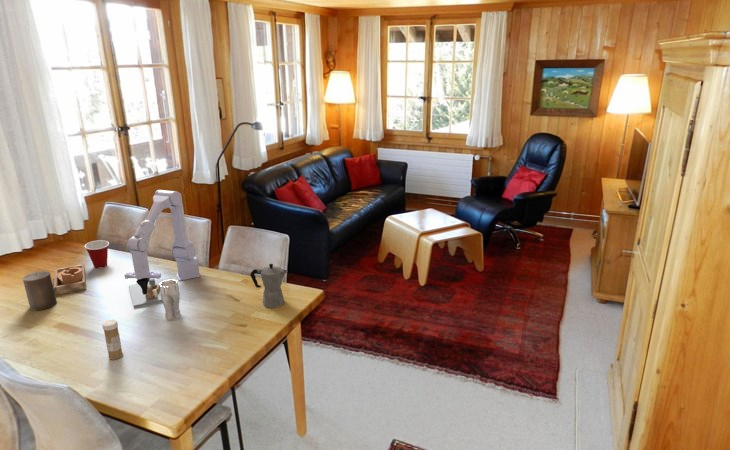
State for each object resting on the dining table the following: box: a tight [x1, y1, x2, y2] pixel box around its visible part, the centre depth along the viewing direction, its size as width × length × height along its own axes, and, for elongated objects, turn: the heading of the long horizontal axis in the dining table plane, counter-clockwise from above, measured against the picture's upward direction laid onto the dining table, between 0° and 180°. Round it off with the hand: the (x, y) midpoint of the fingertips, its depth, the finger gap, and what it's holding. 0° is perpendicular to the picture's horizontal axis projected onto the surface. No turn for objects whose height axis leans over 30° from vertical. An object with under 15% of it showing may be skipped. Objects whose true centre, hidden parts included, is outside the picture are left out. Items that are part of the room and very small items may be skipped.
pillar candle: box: [22, 270, 58, 311], centre depth 203 cm, size 10×10×15 cm
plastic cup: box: [84, 239, 110, 269], centre depth 242 cm, size 11×11×12 cm
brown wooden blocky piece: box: [145, 284, 160, 299], centre depth 212 cm, size 11×5×4 cm, turn 13°
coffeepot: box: [249, 263, 288, 309], centre depth 204 cm, size 15×9×18 cm, turn 92°
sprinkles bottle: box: [101, 319, 124, 361], centre depth 167 cm, size 5×5×14 cm
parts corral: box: [53, 264, 87, 296], centre depth 226 cm, size 12×23×4 cm, turn 29°
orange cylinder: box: [57, 267, 83, 286], centre depth 225 cm, size 18×8×7 cm, turn 46°
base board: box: [128, 276, 173, 309], centre depth 215 cm, size 18×22×6 cm
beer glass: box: [160, 279, 182, 322], centre depth 193 cm, size 7×7×15 cm
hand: (145, 293), depth 208 cm, fingers closed
